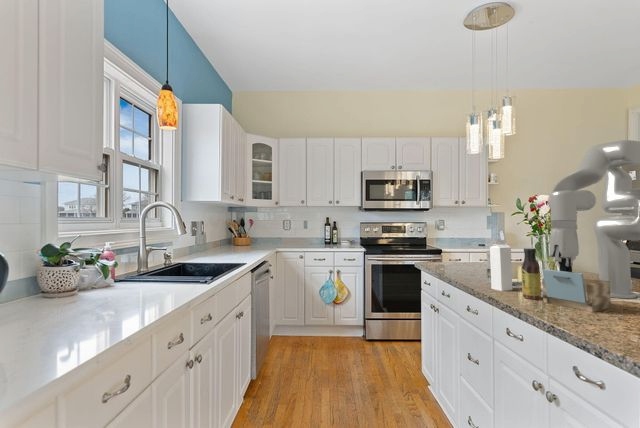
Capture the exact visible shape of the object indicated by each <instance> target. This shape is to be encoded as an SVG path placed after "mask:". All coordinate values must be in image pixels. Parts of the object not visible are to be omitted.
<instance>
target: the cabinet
mask: <svg viewBox="0 0 640 428" xmlns="http://www.w3.org/2000/svg"><path fill="white" fill-rule="evenodd" d="M583 278H584V285H585V292H586V299H587V303H581V302H576V301H570V300H565V299H559V298H553V297H548V296H547V294H546V288H545V281H544V277H543V278H542V300H543V301H542V302H543V303H544V304H550V305H551V304H552V305H556V306H562V307H567V308H571V309H577V310H582V311H587V312H590V313H594V312H598V311H602V310H605V309H609V308H611V307H612V304H611V297H610V281H604V280H599V279H593V278H586V277H583Z"/></svg>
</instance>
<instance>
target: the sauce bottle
mask: <svg viewBox="0 0 640 428" xmlns="http://www.w3.org/2000/svg"><path fill="white" fill-rule="evenodd" d="M523 253H524V258H523V262H522V266H521V286H522V287H521V289H522V290H521V291H522V292H521V293H522V297H523V298H524V299H526V300H534V301H535V300H536V301H538V300H541V298H542V297H541V296H542V287H541V286H542V285H541V283H542V282H541V271H540V264H539V262H538V261H537V257H536V253H537V250H536V247H524V248H523Z"/></svg>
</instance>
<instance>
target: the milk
mask: <svg viewBox="0 0 640 428" xmlns="http://www.w3.org/2000/svg"><path fill="white" fill-rule="evenodd" d="M489 251H490V264H491V284H490V285H491V290H495V291H500V292H505V291H508V292H509V291H513V268H512V265H513V264H512V247H511V246H510V245H509V244H507V243H506V240H505V239H498V240H497V239H495V240H494V242H493V244H492V245H491V246H489Z"/></svg>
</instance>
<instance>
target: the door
mask: <svg viewBox="0 0 640 428" xmlns="http://www.w3.org/2000/svg"><path fill="white" fill-rule="evenodd" d="M542 274H543V278H544V281H545V288H546V294H547V296H548V297H553V298H559V299H565V300H570V301H576V302H581V303H587V299H586V292H585V285H584V278H585V277H584V274H583V273H581V272H573V271H572V272H565V271H560V270H556V269H555V270H554V269H553V270H552V269H546V268H545V269H542Z"/></svg>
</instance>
